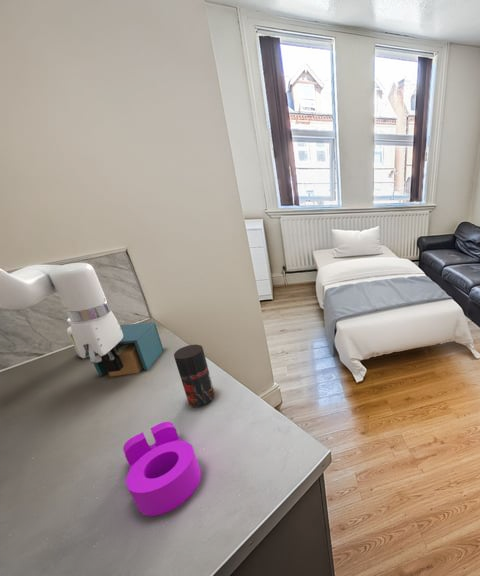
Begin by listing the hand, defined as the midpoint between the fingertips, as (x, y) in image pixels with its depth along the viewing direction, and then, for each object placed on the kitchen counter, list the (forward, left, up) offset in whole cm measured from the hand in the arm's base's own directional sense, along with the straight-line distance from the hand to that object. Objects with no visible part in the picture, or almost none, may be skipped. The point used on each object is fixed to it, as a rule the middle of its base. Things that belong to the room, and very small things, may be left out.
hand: (115, 369), depth 80 cm
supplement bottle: (-14, +19, -4) cm, 24 cm away
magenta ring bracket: (+22, -36, -4) cm, 42 cm away
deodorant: (+24, -15, -4) cm, 28 cm away
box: (0, +6, -4) cm, 7 cm away
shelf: (0, +9, -4) cm, 9 cm away
